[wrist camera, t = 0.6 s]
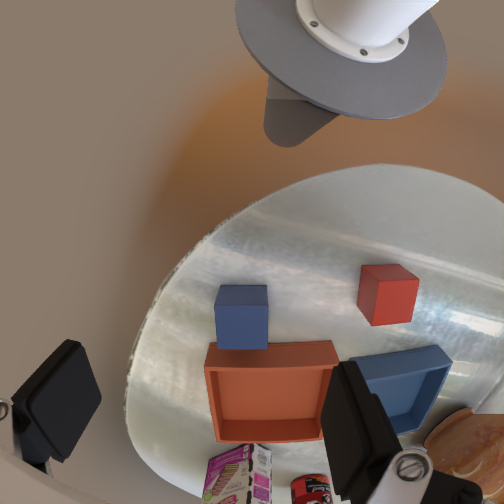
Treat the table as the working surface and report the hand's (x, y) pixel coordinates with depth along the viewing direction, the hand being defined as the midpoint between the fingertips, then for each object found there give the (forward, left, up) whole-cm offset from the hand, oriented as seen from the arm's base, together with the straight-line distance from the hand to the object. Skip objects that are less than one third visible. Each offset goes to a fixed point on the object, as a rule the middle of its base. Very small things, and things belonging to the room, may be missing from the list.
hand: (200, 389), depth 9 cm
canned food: (+49, +12, -20) cm, 55 cm away
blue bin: (+21, +20, -20) cm, 36 cm away
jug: (+39, +42, -20) cm, 61 cm away
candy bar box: (+36, -2, -20) cm, 41 cm away
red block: (+4, +15, -20) cm, 25 cm away
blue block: (+6, 0, -20) cm, 21 cm away
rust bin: (+18, +3, -20) cm, 27 cm away
